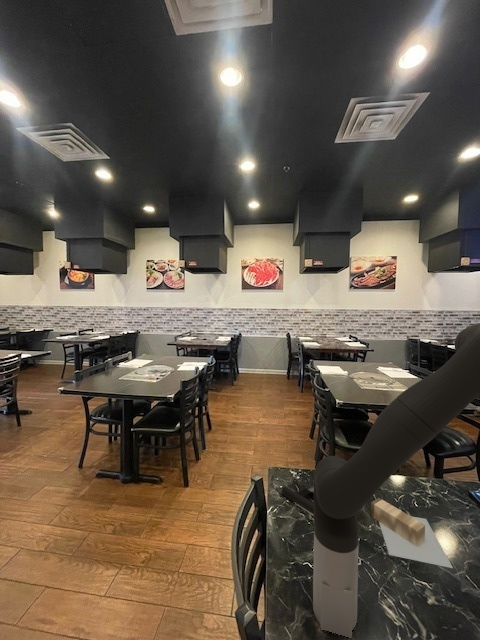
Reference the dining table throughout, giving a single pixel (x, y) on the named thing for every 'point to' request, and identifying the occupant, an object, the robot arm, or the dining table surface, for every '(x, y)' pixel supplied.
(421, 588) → the dining table surface
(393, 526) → the birch block
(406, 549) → the rubber mat
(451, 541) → the dining table surface
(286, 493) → the door handle
